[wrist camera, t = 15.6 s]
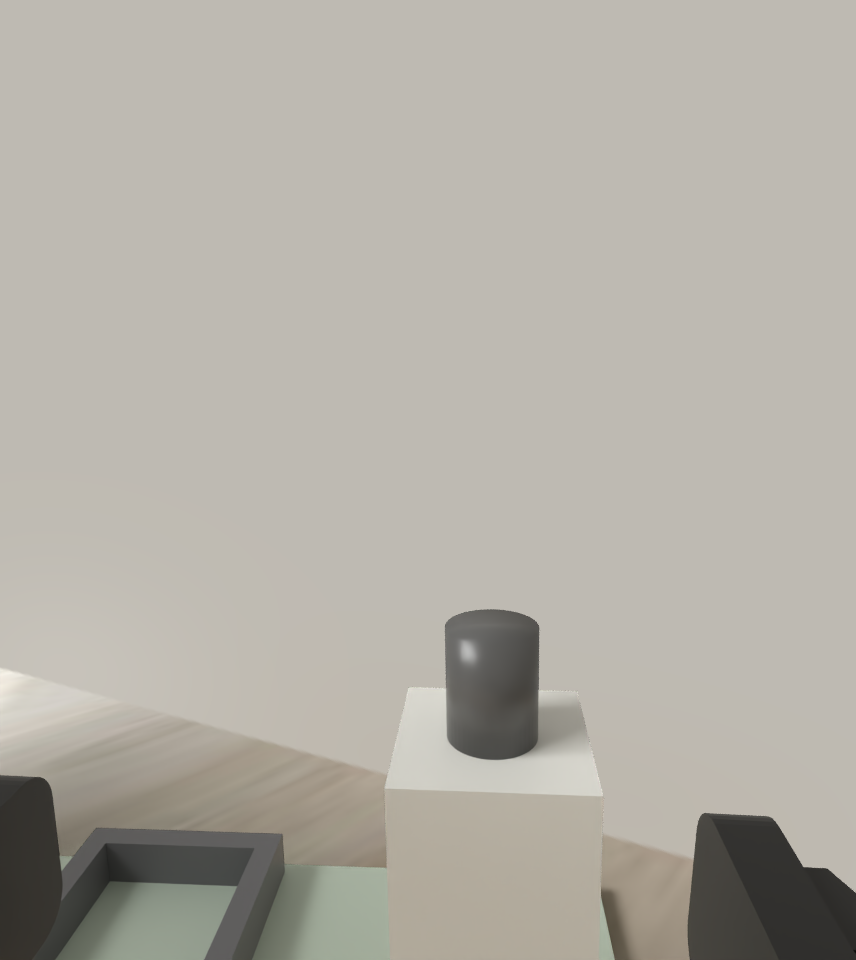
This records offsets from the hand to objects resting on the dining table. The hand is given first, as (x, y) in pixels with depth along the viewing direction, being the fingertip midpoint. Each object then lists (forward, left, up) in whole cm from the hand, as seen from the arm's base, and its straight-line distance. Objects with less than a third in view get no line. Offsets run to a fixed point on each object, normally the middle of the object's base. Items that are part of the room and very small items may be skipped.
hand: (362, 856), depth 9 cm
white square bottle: (+2, +10, -18) cm, 20 cm away
